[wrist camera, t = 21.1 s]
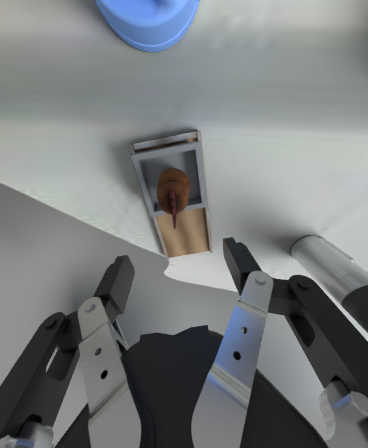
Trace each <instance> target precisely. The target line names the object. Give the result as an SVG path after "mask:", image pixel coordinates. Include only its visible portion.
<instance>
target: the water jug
mask: <svg viewBox="0 0 368 448" xmlns="http://www.w3.org/2000/svg"><path fill="white" fill-rule="evenodd" d="M199 1H200V0H95V2H96V4H97V6H98V8H99V10H100V11H101V13H102V15H103V16H104V17H105V19H106V21H107V22H108V23H109V25H110V26H111V27H112V29H113V30H114V31H115V32H116V33H117V34H118V35H119V36H120V37H121V38H122V39H123V40H124V41H126V42H127V43H128V44H130V45H131V46H133V47H135V48H137V49H140V50H143V51H147V52H158V51H162V50H165V49H168V48H169V47H171V46H173V45H174V44H175V43H177V42H178V41H179V40H180V39H181V38H182V36H183V35H184V34H185V33H186V31H187V30H188V28H189V26H190V25H191V23H192V21H193V18H194V16H195V13H196V11H197V8H198V4H199Z"/></svg>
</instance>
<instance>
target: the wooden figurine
mask: <svg viewBox="0 0 368 448" xmlns="http://www.w3.org/2000/svg"><path fill="white" fill-rule="evenodd" d="M189 191H190V179H189V177H188V175H187V174H186V173H185V172H183V171H182V170H179V169H176V168H167V169H165V170H163V171H162V173H161V175H160V178H159V181H158V185H157V199H158V202H159V206H160V207H161V209H162V210H163V211H164V212H165V213H167V214H170V215H172V218H173V225H174V229H176V219H177V214H178V213H180V212H182V211H183V210H184V209H185V207H186V206H187V204H188V195H189Z"/></svg>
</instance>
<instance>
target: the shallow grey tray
mask: <svg viewBox="0 0 368 448" xmlns="http://www.w3.org/2000/svg"><path fill="white" fill-rule="evenodd" d="M131 159H132V162H133V165H134V168H135V171H136V174H137V177H138V180H139V183H140V186H141V189H142V192H143V195H144V198H145V201H146V205H147V208H148V211H149V214H150V217H154V216H160V215H165V214H167V213H165V212H164V211H163V210H162V209H161V207H160V206H159V202H158V199H157V185H158V181H159V178H160V175H161V173H162V171H163V170H165V169H167V168H176V169H179V170H182V171H183V172H185V173H186V174H187V175H188V177H189V179H190V191H189V195H188V204H187V206H186V207H185V209H184V210H183V211H187V210H193V209H198V208H204V207H207V198H206V189H205V179H204V169H203V159H202V149H201V142H200V141H194V142H189V143H183V144H178V145H173V146H168V147H163V148H158V149H153V150H148V151H143V152H138V153H135V154H133V155H131Z"/></svg>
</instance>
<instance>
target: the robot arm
mask: <svg viewBox="0 0 368 448" xmlns="http://www.w3.org/2000/svg"><path fill="white" fill-rule="evenodd" d="M223 250H224V258H225V261H226V263H227V266H228V268H229V271H230V273H231V275H232V278H233V280H234V283H235V285H236V288H237V290H238V293H239V295H240V296H241V298H240V300H239V301H237V303H236V305H235V308H234V311H233V313H232V316H231V318H230V321H229V324H228V327H227V329H226V332H225V335H224V336H223V335H221V334H219V333H217V332H214V331H210V330H208V325H205V326H198V327H191V328H189V329H187V330H184V331H182V332H180V333H178V334H176V335H168V334H162V333H151V334H145V335H141V336H140V341H139V342H137V343H136V344H134V345H133V346H131V347H130V348H129V346H128V345H127V343H126V341H125V339H124V336H123V334H122V331H121V329H120V327H119V325H118V322H117V320H116V317H117V315H118V314H123V313H124V309H125V306H126V303H127V299H128V295H129V292H130V288H131V285H132V281H133V278H134V274H135V272H134V267H133V265H132V263H131V261H130V259H129V257H128V256H127V255H124V256H118V257H117V258H116V260H115V262H114V264H111V265H110V266H109V267H108V269H107V270H106V272H105V274H104V276H103V278H102V280H101V282H100V284H99V286H98V288H97V290H96V292H95V294H94V296H93V298H90V299H88V300H87V301H86V302H84V303H83V304H82V306H81V307H80V308H79V310H78V311H76V312H73V313H71V314H69V315H67V316H66V315H64V314H63V313H62V312H58V313H55V314H53V315H51V316H49V317H48V318H47V319H46V320H45V321H44V322H43V323H42V324H41V325H40V327H39V328H38V330H37V331H36V333H35V334H34V336H33V338H32V339H31V341H30V342H29V344H28V345H27V347H26V348H25V350H24V351H23V353H22V354H21V356H20V357H19V359H18V360H17V362H16V363H15V365H14V366H13V368H12V369H11V371H10V372H9V374H8V376H7V377H6V378H5V380H4V381H3V383H2V384H1V386H0V448H54V445H53V443H52V441H53V430H52V427H53V425H54V422H55V420H56V417H57V414H58V412H59V409H60V406H61V404H62V401H63V399H64V396H65V393H66V391H67V388H68V386H69V383H70V380H71V378H72V375H73V373H74V370H75V367H76V365H77V362H78V360H79V357H81V362H82V369H83V375H84V381H85V387H86V393H87V398H88V403H87V404H86V405H85V407H84V408H83V409H82V411H81V412H80V414H79V415H78V416H77V418H76V419H75V420H74V422H73V423H72V424H71V426H70V427H69V429H68V430H67V431H66V433H65V434H64V435H63V437H62V438H61V439H60V441H59V442H58V444H57V445H56V446H55V448H368V342H367V340H366V339H365V338H364V337H363V336H362V335H361V334H360V332H359V331H358V330H357V329H356V328H355V327H354V326H353V324H352V323H351V322H350V321H349V320H348V319H347V318H346V316H345V315H344V314H343V313H342V312H341V311H340V310H339V309H338V307H337V306H336V305H335V304H334V303H333V302H332V301H331V299H330V298H329V297H328V296H327V295H326V294H325V293H324V291H323V290H322V289H321V288H320V287H319V286H318V285H317V283H316V282H314V281H313V280H312V279H310V278H308V277H306V276H302V275H293V276H291V277H290V278H289V280H282V279H275V278H272V277H271V276H269V275H268V274H267V273H265V272H263V271H262V270H261V268H260V267H259V265H258V264H257V262H256V261H255V259H254V258H253V256H252V255H251V253H250V252H249V250H248V248H247V247H246V246H245V245H244V244H242V243H241V242H239V243H236V242H235V240H234V238H233V237H230V238H224V239H223ZM291 255H292V256H293V257H294V258H295V259H296V260H297V261H298V262H299V263H300V264H301V265H302V266H303V267H304V268H305V269H306V270H307V271H308V272H309V273H310V274H311V275H312V276H313V277H314V279H315V280H316V281H317V282H318V283H319V284H320V285H321V286H322V287H323V288H324V289H325V290H326V291H327V292H328V293H329V294H330V295H331V296H332V297H333V298H334V299H335V300H336V301H337V302H338V303H339V304H340V305H341V306H342V307H343V308H344V309H345V310H346V311H347V312H348V313H349V314H350V315H351V316H352V317H353V318H354V319H355V320H356V321H357V322H358V323H359V324H360V325H361V326H362V327H363V328H364V329H365V331H366V332H367V333H368V272H366V271H365V270H363V269H362V268H361V267H359V266H358V265H356V264H355V263H354V262H353V258H351V257H350V256H349V255H347V254H346V253H344V252H343V251H341V250H340V249H338V248H337V247H336V246H334V245H333V244H331V243H330V242H328V241H327V240H325V239H324V238H319V237H317V236H307V237H304V238H302V239H300V240H299V241H297V242H296V243H295V244H294V245H293V247H292V249H291ZM267 312H269V313H274V314H280V315H284V316H285V318H286V320H287V321H288V323H289V325H290V327H291V329H292V331H293V332H294V334H295V336H296V338H297V340H298V341H299V343H300V345H301V347H302V349H303V351H304V352H305V354H306V356H307V358H308V360H309V361H310V363H311V365H312V367H313V369H314V371H315V373H316V374H317V376H318V378H319V380H320V382H321V383H322V385H323V387H324V390H323V391H322V392H321V393H320V395H319V405H320V409H321V411H322V414H323V416H324V419H325V423H326V436H325V438H324V440H323V438H322V437H321V435H320V434H319V433H318V432H317V430H316V429H315V428H314V427H313V426H312V425H311V423H310V422H309V421H308V420H307V419H306V418H305V417H304V416H303V415H302V414H301V413H300V412H299V411H298V410H297V409H296V408H295V407H294V406H293V405H292V404H291V403H290V402H289V401H288V400H287V399H286V398H285V397H284V396H283V395H282V394H281V393H280V392H279V390H278V389H276V387H275V386H274V385H273V384H272V383H271V382H270V381H269V380H268V379H267V378H266V377H265V376H264V375H263V374H262V373H261V372H260V371H259V370H258V369H257V368H256V366H257V361H258V356H259V351H260V346H261V341H262V336H263V332H264V327H265V322H266V317H267ZM55 348H57V349H58V351H57V353H56V355H55V357H54V359H53V361H52V363H51V365H50V367H49V369H48V371H47V373H46V366H47V364H48V362H49V360H50V358H51V356H52V354H53V352H54V350H55Z"/></svg>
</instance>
